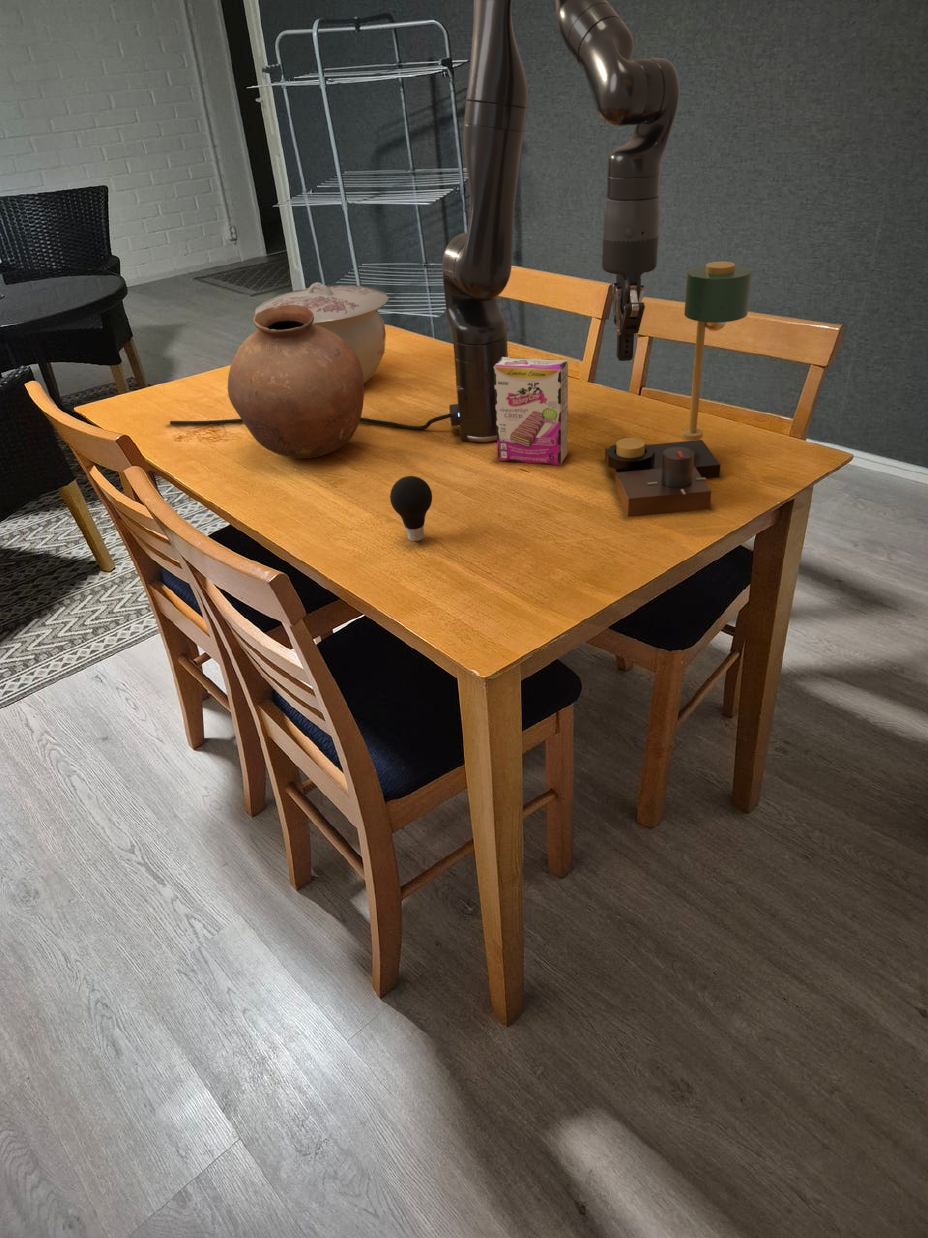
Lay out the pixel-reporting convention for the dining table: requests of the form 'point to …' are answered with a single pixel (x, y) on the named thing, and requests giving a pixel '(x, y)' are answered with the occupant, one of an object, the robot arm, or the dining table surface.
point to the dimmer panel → (660, 493)
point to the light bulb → (412, 504)
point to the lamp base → (654, 459)
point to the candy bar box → (531, 410)
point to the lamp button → (630, 448)
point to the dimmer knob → (677, 467)
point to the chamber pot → (345, 317)
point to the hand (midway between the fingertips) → (624, 358)
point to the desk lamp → (713, 314)
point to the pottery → (296, 384)
